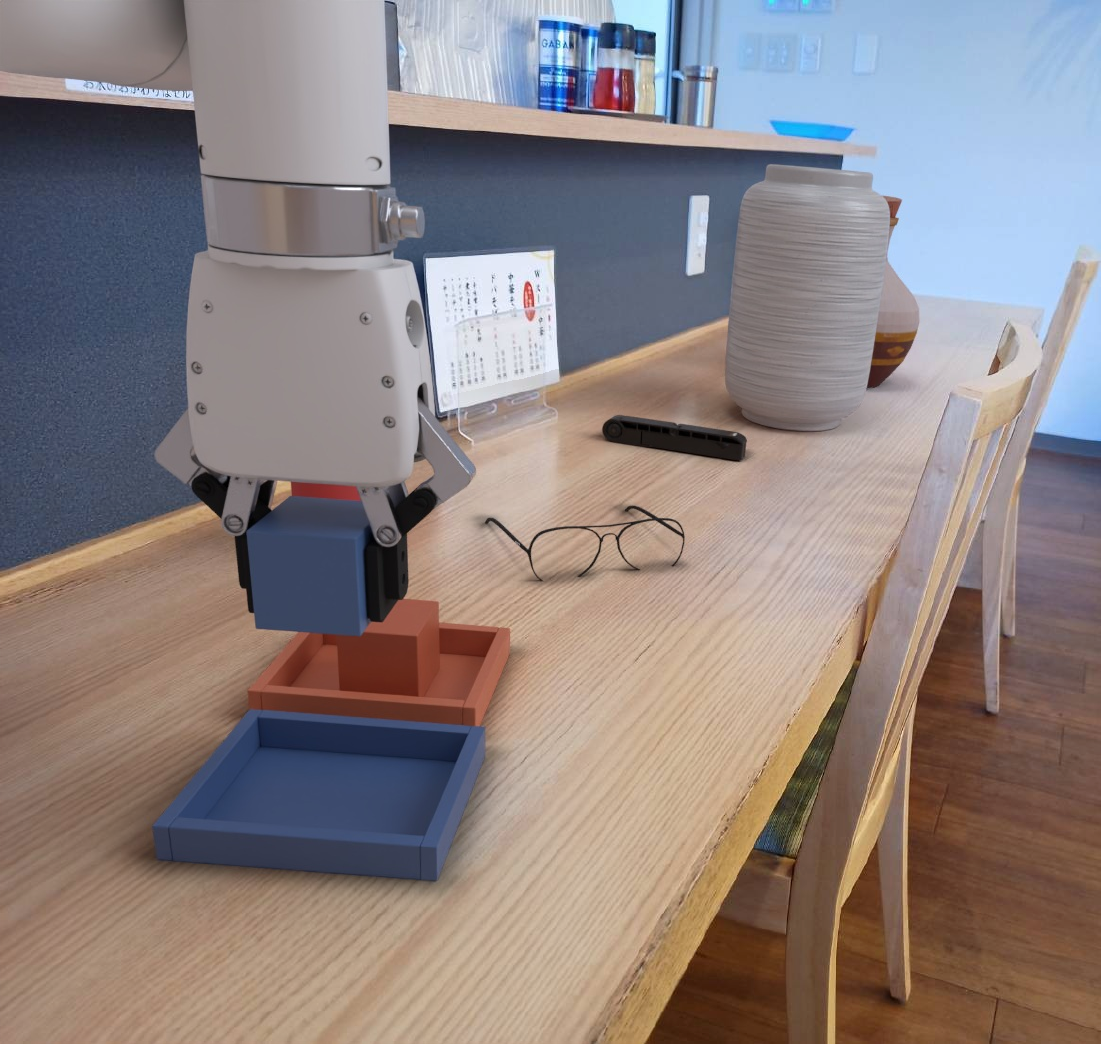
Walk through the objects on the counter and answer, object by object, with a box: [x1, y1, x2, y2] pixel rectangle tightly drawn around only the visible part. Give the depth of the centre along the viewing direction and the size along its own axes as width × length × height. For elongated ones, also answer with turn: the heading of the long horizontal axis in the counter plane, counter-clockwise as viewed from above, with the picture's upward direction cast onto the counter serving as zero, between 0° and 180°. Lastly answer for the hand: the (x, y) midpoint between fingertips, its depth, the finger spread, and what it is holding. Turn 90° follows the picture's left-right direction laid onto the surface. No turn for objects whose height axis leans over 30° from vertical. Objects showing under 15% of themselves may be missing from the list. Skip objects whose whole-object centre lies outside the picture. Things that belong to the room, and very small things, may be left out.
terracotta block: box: [336, 598, 440, 697], centre depth 64 cm, size 5×5×5 cm
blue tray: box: [151, 709, 486, 882], centre depth 53 cm, size 14×11×3 cm
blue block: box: [247, 495, 372, 636], centre depth 48 cm, size 5×5×5 cm
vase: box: [724, 163, 890, 432], centre depth 135 cm, size 20×20×34 cm
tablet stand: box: [601, 414, 748, 461], centre depth 121 cm, size 18×3×3 cm, turn 74°
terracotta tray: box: [247, 621, 511, 727], centre depth 64 cm, size 14×11×3 cm
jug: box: [867, 195, 921, 389], centre depth 163 cm, size 20×18×30 cm
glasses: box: [484, 505, 685, 582], centre depth 90 cm, size 14×15×5 cm
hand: (326, 602), depth 49 cm, fingers closed on blue block, 5 cm apart
